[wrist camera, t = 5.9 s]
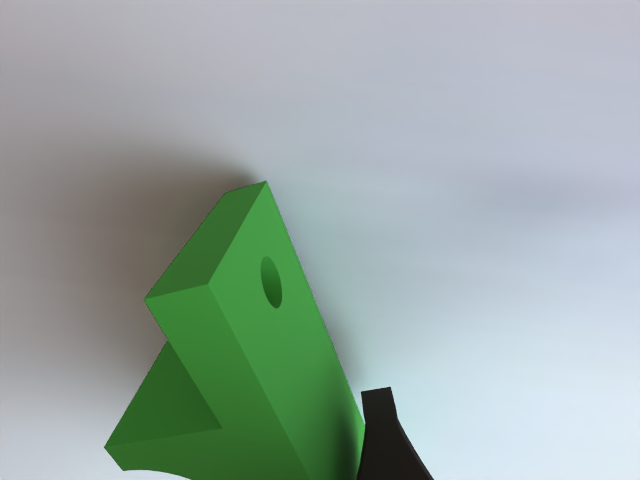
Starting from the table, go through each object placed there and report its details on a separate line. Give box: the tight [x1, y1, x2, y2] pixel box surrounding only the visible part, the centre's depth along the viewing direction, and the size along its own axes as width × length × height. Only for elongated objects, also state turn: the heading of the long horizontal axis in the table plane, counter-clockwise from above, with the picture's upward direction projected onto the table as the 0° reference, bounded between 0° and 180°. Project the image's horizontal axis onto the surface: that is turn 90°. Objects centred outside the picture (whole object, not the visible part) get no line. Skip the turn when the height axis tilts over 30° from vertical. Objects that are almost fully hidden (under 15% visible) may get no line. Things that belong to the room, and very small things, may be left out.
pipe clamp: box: [104, 181, 365, 480], centre depth 11 cm, size 11×4×5 cm, turn 18°
